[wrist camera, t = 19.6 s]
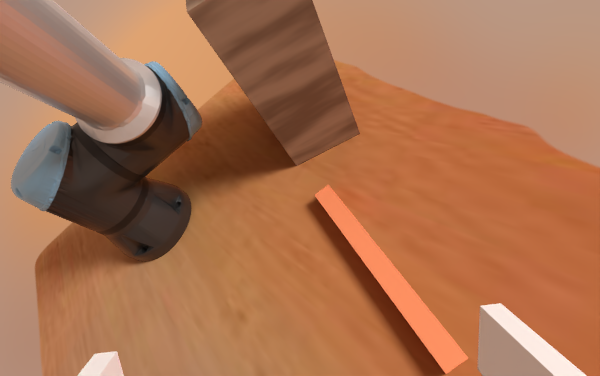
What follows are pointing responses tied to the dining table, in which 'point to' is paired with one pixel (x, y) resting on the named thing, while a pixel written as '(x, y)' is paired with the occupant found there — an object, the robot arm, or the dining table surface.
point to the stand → (281, 69)
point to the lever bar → (394, 284)
